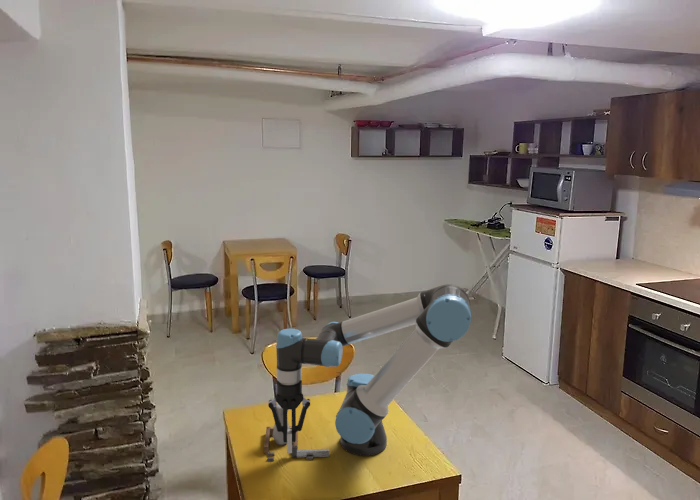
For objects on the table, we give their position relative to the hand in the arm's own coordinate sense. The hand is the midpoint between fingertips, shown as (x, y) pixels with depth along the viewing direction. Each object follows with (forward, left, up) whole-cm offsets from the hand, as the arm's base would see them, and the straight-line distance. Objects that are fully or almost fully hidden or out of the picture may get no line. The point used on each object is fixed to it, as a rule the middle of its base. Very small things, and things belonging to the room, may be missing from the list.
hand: (289, 450), depth 168 cm
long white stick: (-5, -2, -2) cm, 6 cm away
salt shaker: (+6, -7, -3) cm, 10 cm away
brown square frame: (+3, -6, -2) cm, 7 cm away
